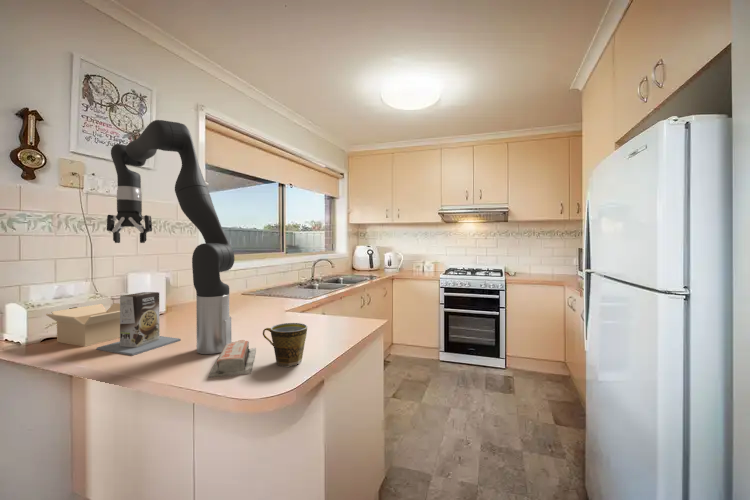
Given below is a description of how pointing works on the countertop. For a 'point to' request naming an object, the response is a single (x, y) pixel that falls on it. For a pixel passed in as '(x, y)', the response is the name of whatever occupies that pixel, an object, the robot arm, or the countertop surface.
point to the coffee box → (139, 319)
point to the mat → (133, 351)
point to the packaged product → (234, 360)
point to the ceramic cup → (288, 342)
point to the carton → (87, 324)
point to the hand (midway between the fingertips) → (129, 242)
